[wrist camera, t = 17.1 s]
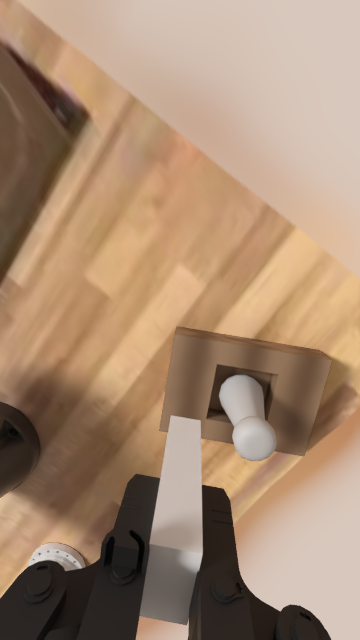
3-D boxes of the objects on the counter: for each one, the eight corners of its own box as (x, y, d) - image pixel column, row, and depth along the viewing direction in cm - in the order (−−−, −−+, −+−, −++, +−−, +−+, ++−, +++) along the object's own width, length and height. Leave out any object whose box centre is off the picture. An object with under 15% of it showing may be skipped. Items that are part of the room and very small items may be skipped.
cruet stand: (162, 415, 44) (159, 430, 40) (176, 326, 40) (174, 334, 37) (294, 438, 43) (304, 456, 39) (319, 350, 40) (332, 360, 36)
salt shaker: (267, 390, 41) (299, 452, 28) (235, 413, 42) (252, 482, 29) (241, 360, 40) (262, 409, 27) (209, 384, 41) (214, 442, 28)
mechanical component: (97, 571, 52) (63, 532, 50) (88, 600, 47) (50, 558, 46) (55, 592, 53) (21, 554, 52) (43, 622, 49) (5, 582, 48)
